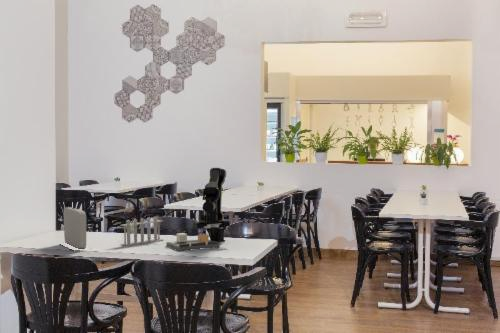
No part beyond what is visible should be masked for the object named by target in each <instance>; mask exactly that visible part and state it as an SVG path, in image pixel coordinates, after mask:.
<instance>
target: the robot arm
mask: <svg viewBox="0 0 500 333" xmlns="http://www.w3.org/2000/svg"><path fill="white" fill-rule="evenodd" d="M226 177H227V171H226V169H224V168H221V167H212V168H210V169H209V180H208V181H209V182H208V183H206V184H205V185H204V188H203V191H202V201H205V202H204V203H203V204H202V210H203V211H204V215H203V214H198V219H197V220H198V221H194V222H193V223H192V227H193V228H195V229H205V230H206V231H207V235H208V238H209V240H210V241H213V242H214V241H217V242H218V243H219V242H225V241H226V239H225V232H224V231H225V230H227V227H230V226H231V221H230V220H228V219H225V218H224V215H223V212H222V199H223V198H222V196H223V195H222V193H223V192H222V191H223V190H222V189H223V184H224V183H225V182H226Z"/></svg>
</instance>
